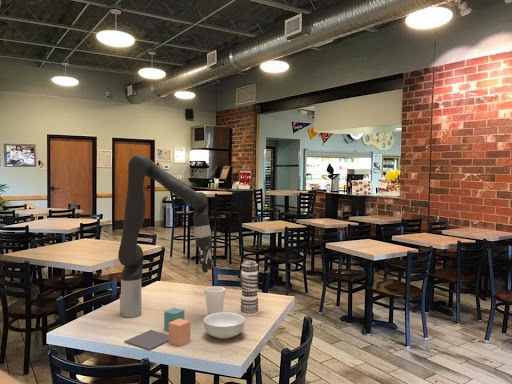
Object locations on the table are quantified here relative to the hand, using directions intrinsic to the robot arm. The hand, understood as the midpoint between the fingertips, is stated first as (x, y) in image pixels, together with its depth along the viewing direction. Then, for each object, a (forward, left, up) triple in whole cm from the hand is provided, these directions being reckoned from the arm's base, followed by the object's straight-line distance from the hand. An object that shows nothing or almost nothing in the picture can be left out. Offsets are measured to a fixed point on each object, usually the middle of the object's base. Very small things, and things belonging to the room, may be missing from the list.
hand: (207, 270), depth 188 cm
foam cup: (+1, +4, -23) cm, 23 cm away
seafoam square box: (-4, -18, -23) cm, 29 cm away
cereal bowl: (+18, -12, -23) cm, 32 cm away
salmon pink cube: (+7, -27, -23) cm, 36 cm away
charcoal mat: (-4, -32, -22) cm, 39 cm away
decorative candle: (+12, +17, -23) cm, 31 cm away
